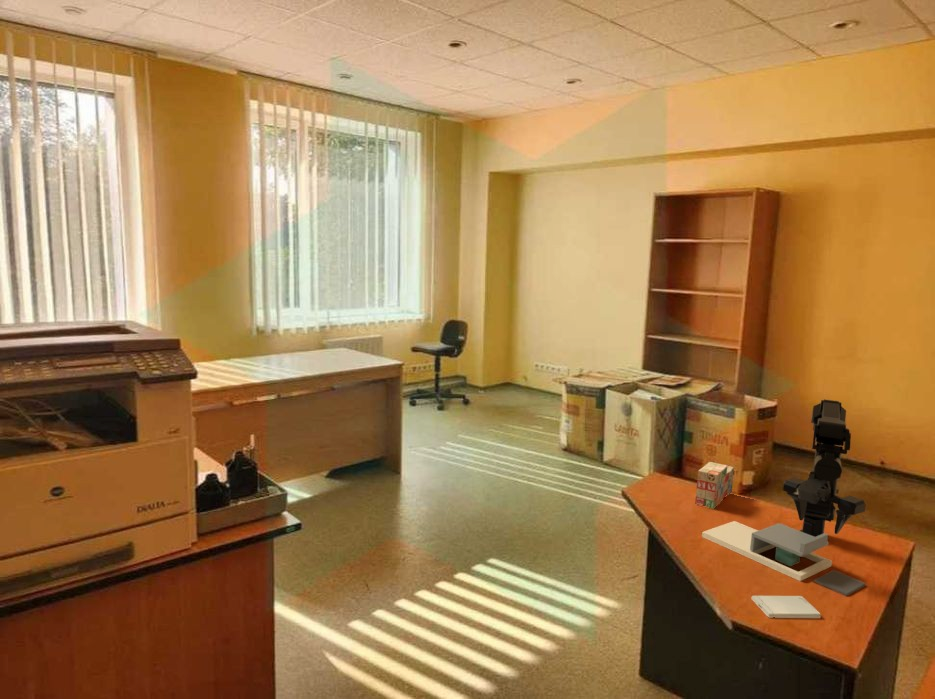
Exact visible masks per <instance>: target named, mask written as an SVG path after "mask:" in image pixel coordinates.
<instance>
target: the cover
mask: <svg viewBox="0 0 935 699" xmlns="http://www.w3.org/2000/svg"><path fill="white" fill-rule="evenodd" d="M828 540H829V534H828V533H826V532H824V533H823V534H821V535H819V536H816V537H814V536H811V535H809V534H806V533H804V532H801V531H800V530H799V529H795V528H793V527H790V526H788V525H786V524H784V523H780V522H777V523H775V524H772V525H769V526H767V527H764V528H762V529H760V530H758V531H756V532H754V533H752V537H751V546H750V551H755V550H758V549H760V548H763V547H765V546H768V545H770V544H772V545H775V546H777V547H779V548H782V549H784V550H786V551H789V552H791V553H794V554H796V555H798V556H800V557H802V558H803V556H805V555H807V554H809V553H811V552H812V553H815V552H816V551H818V550H820V549H823V548H825V547H826V546H828V545H829V543H830V542H829V541H828Z"/></svg>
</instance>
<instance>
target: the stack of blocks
mask: <svg viewBox="0 0 935 699" xmlns="http://www.w3.org/2000/svg"><path fill="white" fill-rule="evenodd" d="M734 471H735V468H734V466H729V465H727V464H724V463H723V464H721V463H718V462H714V461H713V462H712V461H708V462H707V463H706V464H705V465H704V466H703V467H701V468H700V469H699V470H697V479H696V480H697V482H696V493H695V502H694V504H697V505H696V506H699V505H702V506H706V507H709V508H708V509H710V508H712V509H711V510H714V508H715V507H716V506H717V505H718V504H719V503H720V502H721V501H722V499H723V498H724V497H725V496H726V495H728V496H729V495H730V494H731V493H732V492H733V485H734V484H733V482H734ZM726 497H727V496H726ZM722 502H723V501H722ZM722 502H721V503H722ZM721 503H720V504H721ZM720 504H719V505H720ZM719 505H718V506H719ZM702 506H701V507H702ZM718 506H717V507H718ZM706 507H705V508H706ZM717 507H716V508H717ZM716 508H715V509H716Z"/></svg>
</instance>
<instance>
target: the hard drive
mask: <svg viewBox="0 0 935 699" xmlns="http://www.w3.org/2000/svg"><path fill="white" fill-rule="evenodd" d="M750 599H751V600H752V601H753V603H755V604H756V606H757V607H758V608H759V609H760V610H761V611H762V612H763V613H764V614H765V615H766V617H767V616H768V617H769V618H768V617H767V618H768V619H821V616H822V615H821V614H822V613H820V612H819V611H818V610H817V609H816V607H815V606H813V604H811V603H810V602H809V601H808V600H807V599H806V598H804V597H803V596H802V595H751V598H750ZM773 617H775V618H773Z"/></svg>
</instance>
